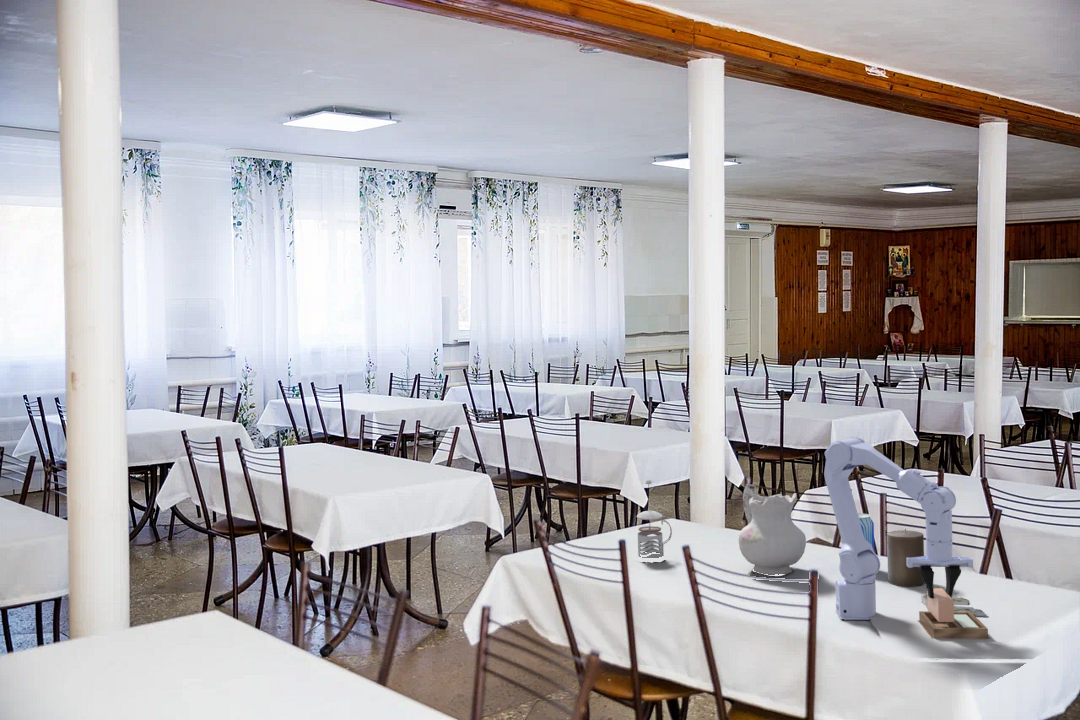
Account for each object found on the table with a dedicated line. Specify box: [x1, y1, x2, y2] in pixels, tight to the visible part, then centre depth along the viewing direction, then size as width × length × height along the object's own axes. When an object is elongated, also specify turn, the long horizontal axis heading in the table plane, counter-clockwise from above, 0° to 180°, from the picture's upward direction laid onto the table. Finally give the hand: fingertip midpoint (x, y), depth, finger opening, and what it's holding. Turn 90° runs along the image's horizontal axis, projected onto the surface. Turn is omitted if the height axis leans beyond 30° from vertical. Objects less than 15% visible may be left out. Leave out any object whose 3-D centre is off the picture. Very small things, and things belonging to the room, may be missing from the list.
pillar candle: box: [886, 528, 925, 587], centre depth 285 cm, size 10×10×15 cm
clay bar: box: [926, 587, 955, 622], centre depth 240 cm, size 3×10×5 cm, turn 173°
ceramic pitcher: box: [738, 483, 807, 575], centre depth 302 cm, size 22×20×25 cm
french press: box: [636, 479, 673, 558], centre depth 320 cm, size 10×12×25 cm
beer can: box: [857, 512, 875, 552], centre depth 300 cm, size 8×8×16 cm
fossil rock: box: [920, 593, 990, 618], centre depth 258 cm, size 18×15×2 cm
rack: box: [917, 610, 991, 640], centre depth 240 cm, size 13×14×3 cm
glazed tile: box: [954, 614, 979, 628], centre depth 240 cm, size 3×10×2 cm, turn 173°
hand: (939, 597), depth 240 cm, fingers closed on clay bar, 3 cm apart
